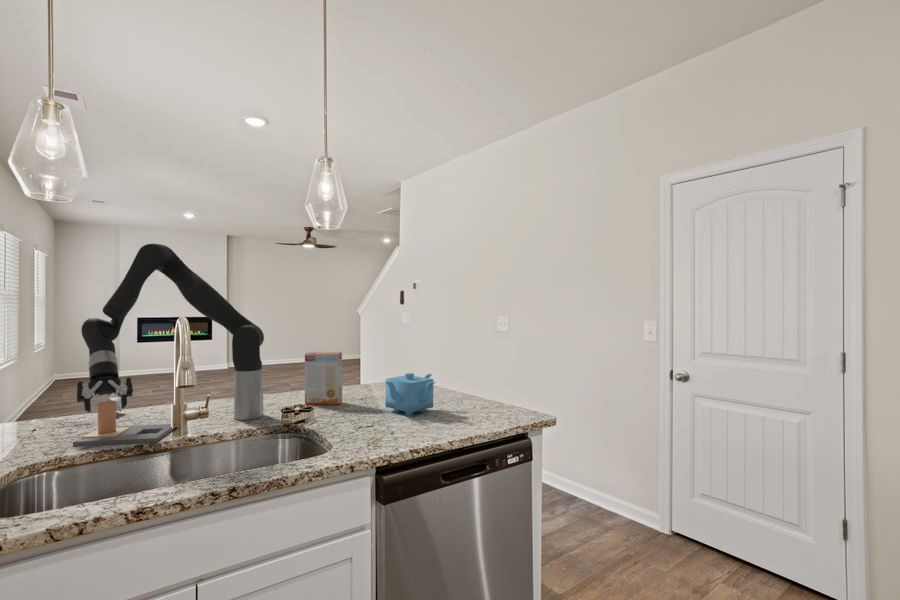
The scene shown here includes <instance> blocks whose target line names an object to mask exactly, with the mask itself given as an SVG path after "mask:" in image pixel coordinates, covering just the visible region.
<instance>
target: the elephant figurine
mask: <svg viewBox="0 0 900 600" xmlns="http://www.w3.org/2000/svg"><path fill="white" fill-rule="evenodd" d="M106 401H116V411H120V412H116V414H117V413H118V414H119V413H121V412H123V411H122V410H124V411H125V407H126V408H129V406H128V404H127V405H126V406H125V407H124V408H121V398H120V397H119V396H116V395H115V394H114V393H111V394H110V395H109V397H102V398H101V399H100V401H99V402H98V403H101V402H106ZM98 403H97V404H96V405H97V406H98Z"/></svg>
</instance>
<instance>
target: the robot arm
mask: <svg viewBox="0 0 900 600" xmlns="http://www.w3.org/2000/svg"><path fill="white" fill-rule="evenodd" d="M155 271H158V272H160V273H161V274H163V275H164V276H165V277H167V278H168V279H169V280H170V281H172V283H174V285H175V286H176V287H177V288H178V290H179V292H180V293H181V295H182V296H183V298H184V300H186V302H188V304H190V305H191V306H192V307H193V308H194V309H195V310H196V311H198V312H199V313H200V314H201V315H203V316H204V317H206V318H208V319H210V320H211V321H212V322H215V323H216V324H219V325H221V326H222V327H223V328H225V329H226V330H227V331H228V333H230V334H231V335H232V339H231V347H232V348H231V350H232V351H231V352H232V354H231V355H232V364H233V368H234V369H233V370H234V372H233V376H234V377H233V379H234V380H233V384H234V385H233V386H234V387H233V388H234V389H233V394H234V397H233V410H234V411H233V417H234V419H235V420H236V421H237V420H239V421H249V420H255V419H261V417H262V416H263V415H264V389H263V361H262V360H261V351H260V349H261V348H260V347H261V346H262V345H263V343H264V340H265V335H264V332H263V330H262V329H261V328H260V327H259V326H257V325H256V324H255V323H253V322H252V321H250V320H249V319H248V318H247V317H246V316H244V315H243V314H241V313H240V312H239V311H238V310H237V309H236V308H235V307H234V305H232V304H231V303H230V302H229V301H228V300H227V299H226V298H225V297H224V296H223V295H222V294H220V293H219V292H218V291H217V290H216V289H215V288H214V287H212V286H211V284H209V283H208V282H207V281H205V280H204V279H203V278H202V277H201V276H200V275H198V274H197V273H196V272H194V271H193V270H192V269H190V268H189V266H188V265H186V264H185V263H184V261H183V260H182V259H181V258H180V257H179V256H178V255H177V254H176V252H175V251H173V249H172V248H170V247H169V246H167V245H164V244H160V243H155V242H152V243H151V242H149V243H146V244H143V245H142V246H141V247H140V248H139V249H138V251H137V253H136V255H135V257H134V259H133V261H132V263H131V265H130V267H129V269H128V270H127V272H126V274H125V276H124V278H123V279H122V281H121V282H120V284H119V286H118V287H117V289H116V290H115V291H114V293H113V294H112V295H111V296H110V298H109V299H108V301H106V304H105V305H104V306H103V307H102V312H103V314H104V315H105V316H107V317H108V318H110V319H111V320H109V321H108V320H104V319H103V318H102V319H101V318H98V317H90V318H88V319H86V320H85V321H84V322H83V323H82V325H81V336H82V338H83V340H84V342H85V345H86V346H87V348H88V354H89V355H88V356H89V361H88V371H89V372H88V374H89V381H88V382H87V383H86V382H85V383H83V382H82V381H78V382H77V388H76V402H77V403H81V402H82V403H84V405H83V406H84V412H87V414H89V413H91V410H92V409H91V408H92V407H91V400H93V399H94V398H95V397H96V396H97V395H98V396H103V395H112V394H115V395H116V396H119V397H120V398H121V408H124V407H126V405H127V406H128V399H127V398H129V397H132V396H133V393H134V389H133V388H134V387H133V383H132V379H131V377H126V379H120V378H119V369H118V368H119V367H118V359H117V356H116V346H115V343H114V341H115V340H117V338H118V336H119V335H120V331H121V329H122V326H123V322H124V321H125V319H126V317H127V315H129V313H130V311H131V310H132V308H133V307H134V306H135V304H136V303H137V301H138V299H139V296H140V293H141V291H142V288H143V286H144V284H145V283H146V281H147V280H148V279H149V277H151V275H152V274H153V273H154V272H155ZM121 385H122V386H124V387H125V388H126V391H125V390H124V389H123V388H122V386H121ZM86 389H89V391H88V393H86V394H85V395H83V392H84V391H85V390H86ZM124 409H125V408H124Z"/></svg>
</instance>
